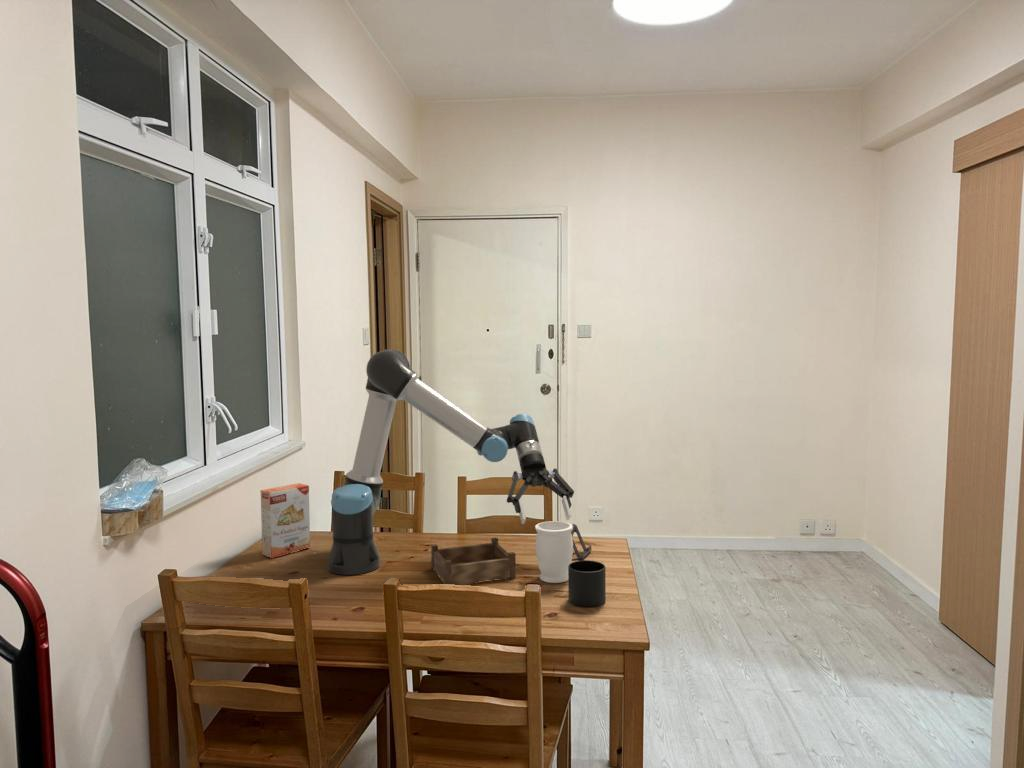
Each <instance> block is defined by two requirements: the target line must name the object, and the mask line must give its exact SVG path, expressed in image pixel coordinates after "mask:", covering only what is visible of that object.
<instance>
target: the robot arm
mask: <svg viewBox="0 0 1024 768" xmlns="http://www.w3.org/2000/svg"><path fill="white" fill-rule="evenodd" d="M365 371H366V375H367V380H366V383H365V384H366V385H365V390H366V392H367V393H368V399H367V403H366V408H365V412H364V417H363V421H362V425H361V429H360V433H359V438H358V443H357V448H356V452H355V456H354V460H353V464H352V469H351V470H350V471H347V472H346V474H345V478H344V482H343V485H342V486H338V487H337V488H335V489H334V490H333V492H332V493H331V500H330V506H331V518H332V519H331V523H332V545H331V548H330V552H329V556H328V559H327V570H328V572H330V573H332V574H336V575H342V576H350V575H351V576H353V575H362V574H367V573H369V572H373V571H374V570H375V571H376V570H377V569H379V567H380V566H381V557H380V553H379V551H378V548H377V545H376V543H375V540H374V516H375V515H374V514H375V512H376V511H377V510H378V508H379V506H380V504H381V493H382V488H383V484H384V480H383V477H382V476H381V470H382V466H383V462H384V457H385V453H386V450H387V449H386V448H387V444H388V439H389V436H390V432H391V427H392V421H393V417H394V413H395V409H396V405H397V402H398V401H401V400H402V401H404V402H406V403H407V404H408V405H410V406H411V407H413V408H414V409H416V410H418V412H421V413H422V414H423V415H425V416H426V417H428V418H429V419H430V420H432V421H434V422H435V423H436V424H438V425H439V426H441V427H442V428H444V429H445V430H447V431H448V432H449V433H450V434H452V435H454V436H455V437H456V438H458V439H460V440H461V441H463V442H464V443H466V444H467V445H469V446H470V447H471V448H472V449H474V450H476V453H477V455H478V456H483V458H484V459H486V460H487V461H488V462H490V463H499V462H501V461H503V460H504V459H505V458H506V456H507V454H508V452H509V451H508V450H512V449H515V451H516V455H517V459H518V463H519V467H520V472H518V471H517V470H513V473H512V478H511V479H512V480H511V481H512V483H511V486H510V489H509V492H508V493H507V494H508V495H507V498H506V503H508V504H509V503H512V505H513V506H514V510H515V513H516V514H519V518H520V524H522V525H525V523H526V520H527V519H526V514H525V509H524V504H523V501H522V499H521V498H522V496H523V495H524V494H525V492H526V491H527V490H528V488H529V486H531V487H543V486H544V487H545V488H548V489H550V490H551V491H552V492H554V493H555V494H556V495H557V496H559V497H560V498H562V499H561V504H562V508H563V512H564V514H565V518H566V521H570V519H571V517H572V512H571V506H572V502H571V499H572V498H573V496H574V494H575V490H573V488H572V487H571V486H570V485H569V483H568V482H567V481H566V480H565V479H564V478H563V477H562V476H561V474H560V473H559V471H558V468H553V469H552V470H548V469H547V466H546V462H545V460H544V459H545V458H544V456H543V452H542V448H541V444H540V441H539V437H538V432H537V428H536V426H535V423H534V420H533V417H532V416H531V415H530V414H527V413H518V414H516V415H515V416H512V417H511V419H510V420H509V424H506V425H504V426H498V427H494V428H490V427H488V426H487V425H486V424H484V423H483V422H481V421H479V420H478V419H477V418H475V417H474V416H472V415H471V414H470V413H469V412H467V411H465V410H464V409H463V408H461V407H459V406H458V405H457V404H455V403H454V402H453V401H451V400H449V399H448V398H447V397H445V396H444V395H442V394H441V393H439V392H438V391H437V390H435V389H433V388H432V387H431V386H430V385H428V384H427V383H426V382H424V381H422V380H421V379H420V378H418V374H417V372H415V371H414V370H413V369H412V368H411V365H410V362H409V359H408V357H406V355H405V354H404V353H402V352H401V351H399V350H396V349H390V348H388V349H387V348H386V349H383V350H380V351H378V352H375V353H374V354H373V355H372V356H371V357H370V358H369V360H368V361H367V364H366V369H365ZM520 478H521V479H522V480H523V481H524V482H523V483H522V485H521V487H520V488H519V489H518V491H517V493H516V494H515V496H514V492H515V489H516V486H517V482H518V481H519V480H520ZM552 479H553V480H554V481H553V480H552Z"/></svg>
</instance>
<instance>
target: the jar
mask: <svg viewBox="0 0 1024 768" xmlns="http://www.w3.org/2000/svg"><path fill="white" fill-rule="evenodd" d="M534 528H535V530H536V531H535V532H536V538H535V556H536V561H537V562H536V563H537V567H538V569H539V571H540V574H539V579H540V580H541V581H543V582H545V583H548V584H560V583H564V582H567V581H568V566H569V564H570V563H572V559H573V553H574V549H573V540H574V539H572V538H573V537H572V534H571V531H572V530H573V526H572V524H571V523H569V522H566V521H557V520H552V521H542V522H539V523H537V524H535V527H534Z"/></svg>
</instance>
